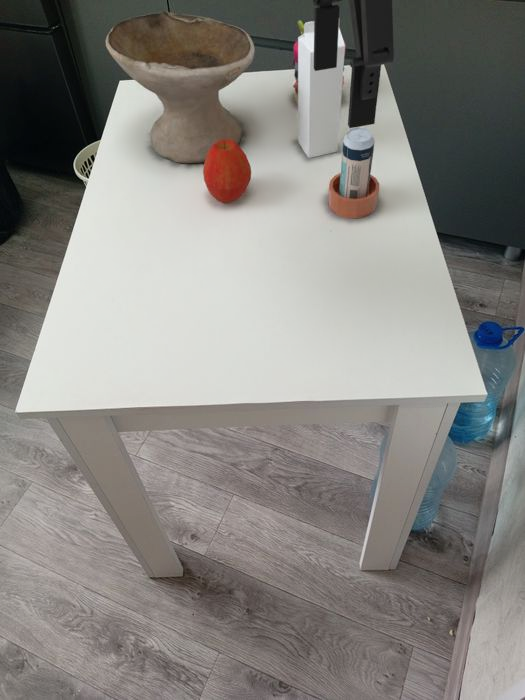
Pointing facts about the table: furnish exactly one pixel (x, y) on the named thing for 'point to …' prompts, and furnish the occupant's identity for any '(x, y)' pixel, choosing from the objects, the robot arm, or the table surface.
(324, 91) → the milk
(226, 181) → the apple
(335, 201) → the holder
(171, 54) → the bowl
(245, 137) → the table surface
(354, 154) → the beer can
